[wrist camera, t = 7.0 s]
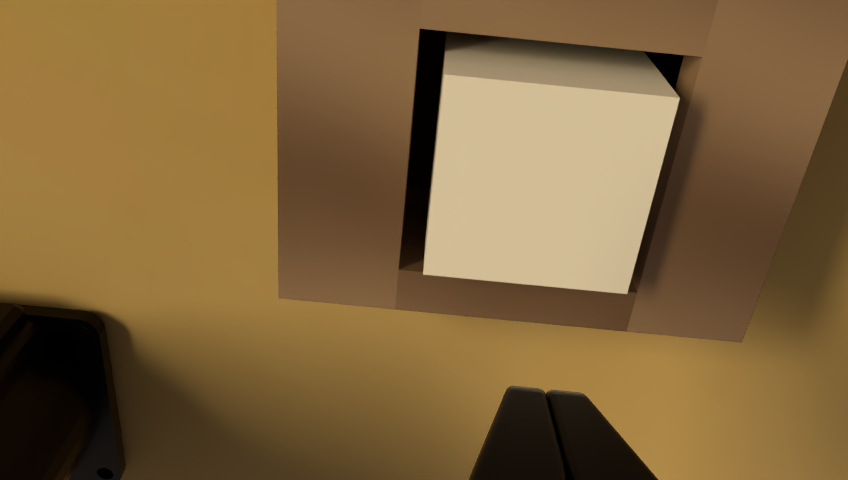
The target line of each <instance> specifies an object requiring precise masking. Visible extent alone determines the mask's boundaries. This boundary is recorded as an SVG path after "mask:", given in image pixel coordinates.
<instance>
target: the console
mask: <svg viewBox="0 0 848 480" xmlns="http://www.w3.org/2000/svg"><path fill="white" fill-rule="evenodd" d="M420 29H429V30H439V31H449V32H459V33H469V34H479V35H489V36H499V37H509V38H519V39H529V40H538V41H548V42H558V43H568V44H578V45H588V46H598V47H608V48H618V49H628V50H638V51H648V52H658V53H668V54H678V55H684V57H683V61H682V65H681V69H680V72H679V76H678V80H677V84H676V87H675V92H676V93H677V95H678V96H679V97H680V100H679V103H678V107H677V111H676V115H675V118H674V122H673V126H672V129H671V133H670V137H669V141H668V144H667V148H666V152H665V155H664V159H663V163H662V167H661V170H660V174H659V178H658V181H657V185H656V189H655V192H654V196H653V200H652V204H651V207H650V211H649V215H648V218H647V222H646V226H645V230H644V233H643V237H642V241H641V244H640V248H639V252H638V256H637V259H636V263H635V267H634V270H633V274H632V278H631V281H630V285H629V289H628V293H627V294H620V293H610V292H599V291H589V290H578V289H568V288H558V287H547V286H537V285H527V284H516V283H506V282H495V281H485V280H475V279H464V278H454V277H444V276H433V275H423V267H424V253H425V239H426V225H427V211H428V198H429V189H430V188H419V187H409V186H407V177H408V166H409V154H410V143H411V131H412V120H413V109H414V97H415V86H416V74H417V63H418V51H419V40H420ZM847 60H848V0H277V127H278V275H279V298H282V299H292V300H303V301H313V302H324V303H334V304H345V305H355V306H366V307H376V308H387V309H397V310H407V311H418V312H428V313H439V314H449V315H460V316H470V317H481V318H491V319H501V320H512V321H522V322H533V323H543V324H554V325H564V326H575V327H585V328H595V329H606V330H616V331H627V332H637V333H648V334H658V335H669V336H679V337H690V338H700V339H710V340H721V341H731V342H742V340H743V338H744V335H745V332H746V329H747V327H748V324H749V321H750V319H751V316H752V313H753V311H754V308H755V305H756V303H757V300H758V297H759V295H760V292H761V289H762V287H763V284H764V281H765V279H766V276H767V273H768V271H769V268H770V265H771V263H772V260H773V257H774V255H775V252H776V249H777V247H778V244H779V241H780V239H781V236H782V233H783V231H784V228H785V225H786V223H787V220H788V217H789V215H790V212H791V209H792V207H793V204H794V201H795V199H796V196H797V193H798V191H799V188H800V185H801V183H802V180H803V177H804V175H805V172H806V169H807V167H808V164H809V161H810V159H811V156H812V153H813V151H814V148H815V145H816V143H817V140H818V137H819V135H820V132H821V129H822V127H823V124H824V121H825V119H826V116H827V113H828V111H829V108H830V105H831V103H832V100H833V97H834V95H835V92H836V89H837V87H838V84H839V81H840V79H841V76H842V73H843V71H844V68H845V65H846V63H847Z"/></svg>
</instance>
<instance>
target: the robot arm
mask: <svg viewBox="0 0 848 480" xmlns="http://www.w3.org/2000/svg"><path fill="white" fill-rule="evenodd" d="M80 327H84V328H86V329H87V330H88V331H89V332H90V333H88V332H84V331H83V330H82V329H80ZM125 467H126V464H125V458H124V451H123V444H122V438H121V431H120V424H119V417H118V411H117V404H116V397H115V390H114V384H113V377H112V370H111V363H110V357H109V350H108V343H107V336H106V330H105V326H104V323H103V321H102V320H101V319H100V318H99V317H98V316H97V315H95V314H93V313H91V312H87V311H79V310H68V309H57V308H47V307H36V306H26V305H15V304H9V303H0V480H120V479H121V477H122V475H123V473H124V471H125ZM469 480H658V479H657V478H656V477H655V475H654V474H653V473H652V472H651V471H650V470H649V468H648V467H647V466H646V465H645V464H644V463H643V461H642V460H641V459H640V458H639V457H638V456H637V454H636V453H635V452H634V451H633V450H632V449H631V447H630V446H629V445H628V444H627V443H626V442H625V440H624V439H623V438H622V437H621V436H620V435H619V433H618V432H617V431H616V430H615V429H614V428H613V426H612V425H611V424H610V423H609V422H608V421H607V419H606V418H605V417H604V416H603V415H602V414H601V412H600V411H599V410H598V409H597V408H596V407H595V405H594V404H593V403H592V402H591V401H590V400H589V398H588V397H587V396H585V395H584V394H582V393H579V392H569V391H559V390H550V391H548V392H547V393H546V394H545V392H544V391H543V390H541V389H539V388H529V387H519V386H510V387H509V388H508V389H507V390H506V392H505V394H504V396H503V399H502V401H501V404H500V406H499V408H498V411H497V413H496V416H495V418H494V420H493V423H492V425H491V428H490V430H489V432H488V435H487V437H486V439H485V442H484V444H483V447H482V449H481V451H480V454H479V456H478V459H477V461H476V463H475V466H474V468H473V470H472V473H471V475H470V478H469Z"/></svg>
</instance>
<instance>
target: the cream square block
mask: <svg viewBox="0 0 848 480" xmlns="http://www.w3.org/2000/svg"><path fill="white" fill-rule="evenodd" d="M679 100H680V97H679V96H678V95H677V93H676V92H675V91H674V90H673V88H672V87H671V86H670V84H669V83H668V82H667V81H666V79H665V78H664V77H663V75H662V74H661V73H660V72H659V70H658V69H657V68H656V66H655V65H654V64H653V63H652V61H651V60H650V59H649V57H648V56H647V55H646V54H645V52H644V51H638V50H628V49H618V48H608V47H598V46H588V45H578V44H568V43H558V42H548V41H538V40H529V39H519V38H509V37H499V36H489V35H479V34H469V33H459V32H449V31H446V35H445V45H444V54H443V64H442V74H441V83H440V93H439V102H438V112H437V122H436V131H435V141H434V150H433V160H432V170H431V179H430V189H429V198H428V211H427V225H426V239H425V253H424V267H423V275H433V276H444V277H454V278H464V279H475V280H485V281H495V282H506V283H516V284H527V285H537V286H547V287H558V288H568V289H578V290H589V291H599V292H610V293H620V294H627V293H628V289H629V285H630V281H631V278H632V274H633V270H634V267H635V263H636V259H637V256H638V252H639V248H640V244H641V241H642V237H643V233H644V230H645V226H646V222H647V218H648V215H649V211H650V207H651V204H652V200H653V196H654V192H655V189H656V185H657V181H658V178H659V174H660V170H661V167H662V163H663V159H664V155H665V152H666V148H667V144H668V141H669V137H670V133H671V129H672V126H673V122H674V118H675V115H676V111H677V107H678V103H679Z"/></svg>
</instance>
